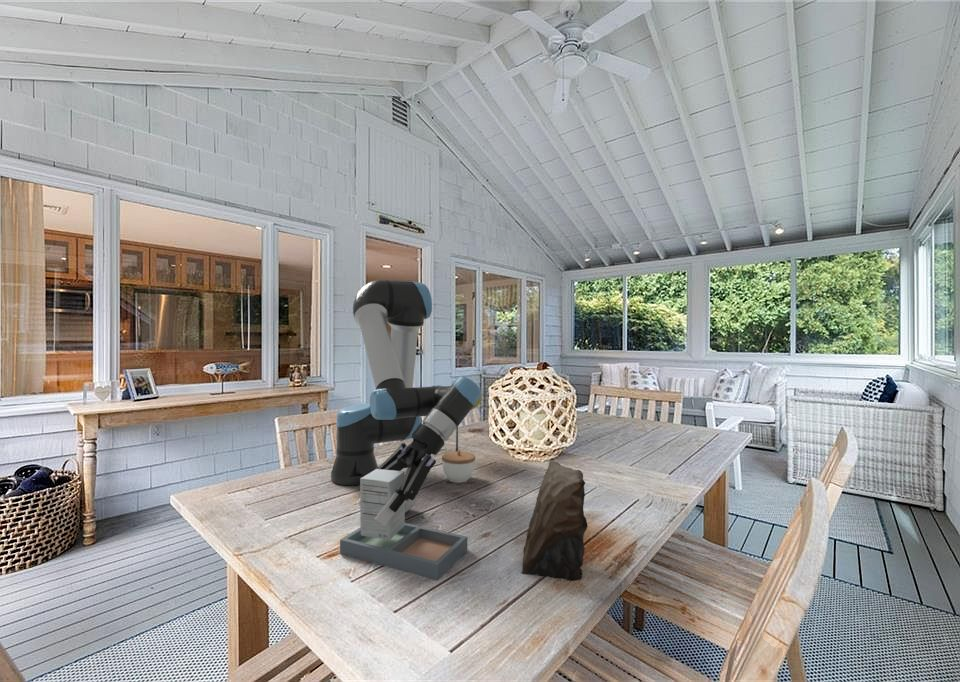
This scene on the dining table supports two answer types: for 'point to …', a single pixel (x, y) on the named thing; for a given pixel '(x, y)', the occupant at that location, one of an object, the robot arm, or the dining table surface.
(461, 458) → the lidded jar
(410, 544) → the sorting tray
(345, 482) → the robot arm
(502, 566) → the dining table surface
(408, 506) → the die
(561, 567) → the brown rock
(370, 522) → the supplement box
